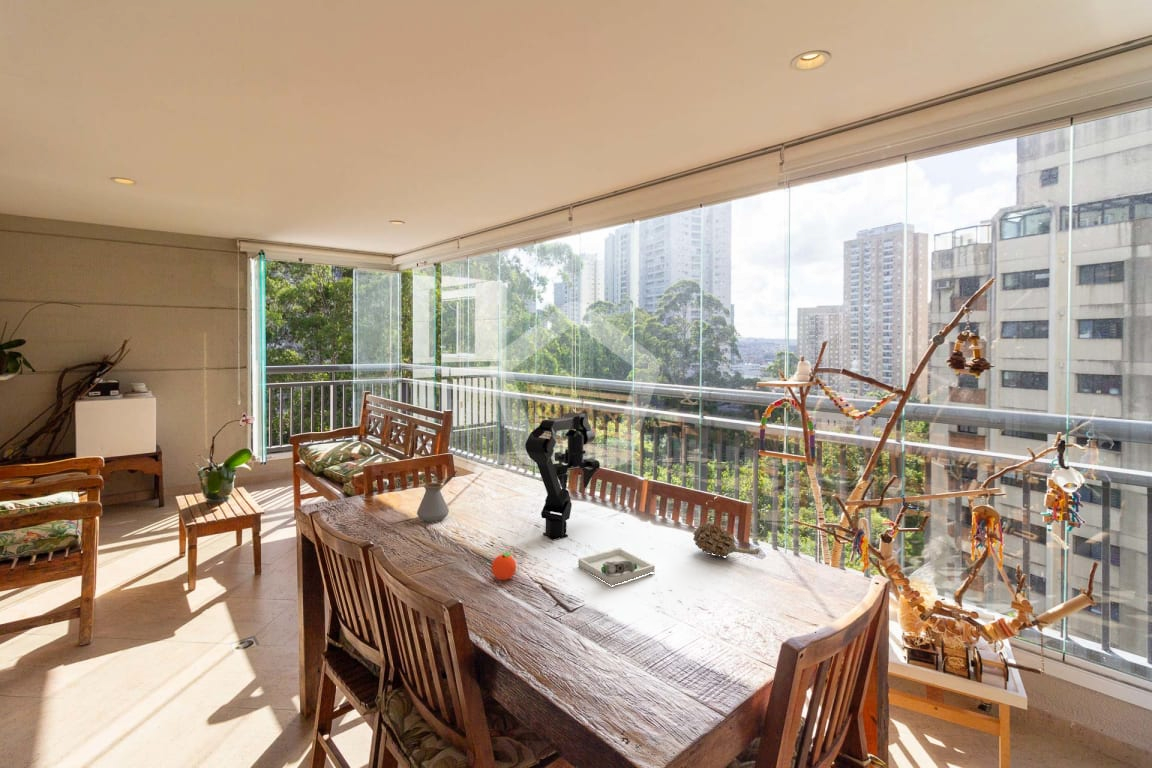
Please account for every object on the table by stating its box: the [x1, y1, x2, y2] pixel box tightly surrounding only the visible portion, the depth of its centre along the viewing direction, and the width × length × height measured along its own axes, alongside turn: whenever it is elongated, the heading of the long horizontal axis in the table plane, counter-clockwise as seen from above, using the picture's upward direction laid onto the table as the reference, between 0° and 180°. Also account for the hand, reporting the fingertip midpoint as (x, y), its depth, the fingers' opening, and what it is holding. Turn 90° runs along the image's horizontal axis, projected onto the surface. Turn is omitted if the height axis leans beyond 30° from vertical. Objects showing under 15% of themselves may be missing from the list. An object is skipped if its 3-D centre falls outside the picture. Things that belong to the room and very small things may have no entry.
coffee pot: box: [416, 470, 460, 523], centre depth 211 cm, size 21×12×15 cm, turn 157°
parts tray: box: [577, 547, 655, 586], centre depth 166 cm, size 16×16×2 cm
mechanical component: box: [601, 561, 637, 575], centre depth 162 cm, size 3×10×10 cm
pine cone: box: [693, 522, 761, 557], centre depth 176 cm, size 22×10×10 cm, turn 56°
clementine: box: [491, 553, 517, 581], centre depth 159 cm, size 8×7×7 cm
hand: (574, 489), depth 204 cm, fingers open, 9 cm apart
